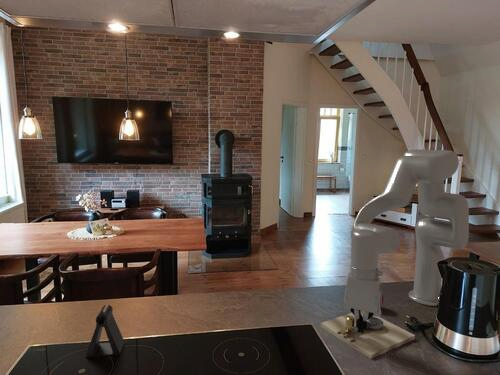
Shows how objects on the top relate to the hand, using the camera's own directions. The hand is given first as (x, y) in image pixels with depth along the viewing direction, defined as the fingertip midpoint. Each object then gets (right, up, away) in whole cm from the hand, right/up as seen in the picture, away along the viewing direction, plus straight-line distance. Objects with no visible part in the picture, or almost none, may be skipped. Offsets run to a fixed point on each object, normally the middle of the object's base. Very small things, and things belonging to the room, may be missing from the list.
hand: (361, 330), depth 105 cm
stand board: (+3, -3, +5) cm, 7 cm away
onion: (+12, -1, +22) cm, 25 cm away
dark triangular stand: (-74, -3, -6) cm, 75 cm away
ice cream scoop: (+1, -1, +4) cm, 5 cm away
